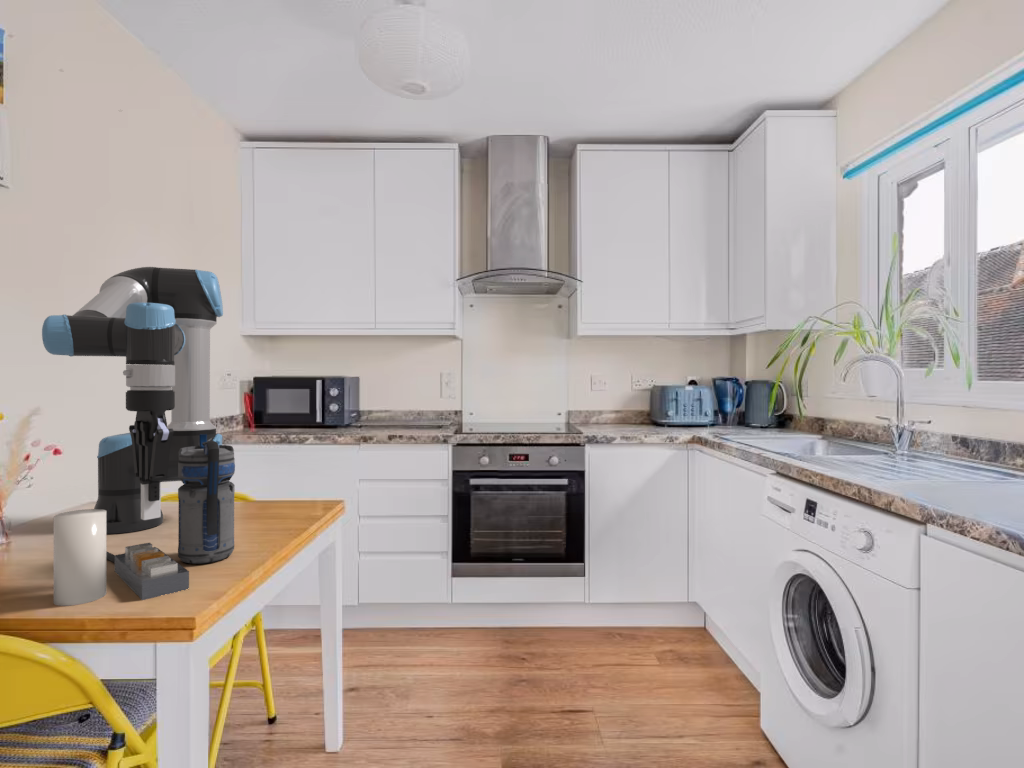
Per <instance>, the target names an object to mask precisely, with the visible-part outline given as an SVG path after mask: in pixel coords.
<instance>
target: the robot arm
mask: <svg viewBox="0 0 1024 768" xmlns="http://www.w3.org/2000/svg"><path fill="white" fill-rule="evenodd" d="M223 308H224V307H223V299H222V293H221V288H220V284H219V279H218V276H217V275H216V274H215V273H214V272H212V271H208V270H207V271H206V270H200V269H192V268H191V269H189V268H175V267H174V268H171V267H170V268H169V267H157V266H141V267H135V268H131V269H128V270H125V271H122V272H119V273H116V274H114V275H112V276H111V277H109V278H107V280H105V281H104V282H103V283H102V285H101V286H100V287H99V292H98V293H97V295H95V296H94V297H93V298H92V299H90V300H89V301H87V303H86V304H84V305H83V306H82V307H81V308H79V310H77V311H76V312H75V313H73V314H72V315H69V314H68V315H67V314H59V315H55V314H53V315H48V316H47V317H46V318H45V319H44V321H43V322H42V323H43V324H42V328H41V338H42V344H43V347H44V348H45V350H46V352H47V353H49V354H50V355H54V356H55V355H56V356H69V357H122V358H123V357H125V369H124V370H123V371H122V375H123V376H125V386H126V387H128V388H129V389H127V390H126V391H125V409H126V411H128V412H136V415H135V421H134V424H132V425H130V424H129V427H128V431H129V432H125V433H119V434H114V435H109V436H105V437H103V438H101V440H100V441H99V443H98V452H97V455H96V456H97V500H96V503H95V506H94V508H93V509H103V510H106V535H108V534H109V535H110V534H124V533H133V532H138V531H143V530H149V529H152V528H155V527H158V526H161V525H162V524H163V523H164V514H163V510H162V507H161V506H162V505H161V504H162V498H161V496H162V494H161V491H162V487H161V486H162V485H161V484H162V483H169V482H182V481H181V480H180V479H179V477H178V461H179V450H180V449H181V448H184V447H191V446H199V434H207V441H215V442H217V443H218V445H223V435H222V434H220V433H217V427H216V425H214V424H213V423H212V422H211V420H210V417H211V416H210V415H211V414H210V409H211V407H210V406H211V403H210V402H211V401H210V400H211V399H210V397H211V396H210V394H211V393H210V392H211V391H210V390H211V389H210V387H211V386H210V385H211V382H210V381H211V375H210V374H211V371H210V370H211V329H212V328H213V327H215V326H216V325H217V319H218V318H220V317H223V315H224V310H223ZM166 411H171V419H170V420H171V421H170V423H169V424H168V422H167V417H166Z"/></svg>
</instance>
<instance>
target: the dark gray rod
mask: <svg viewBox="0 0 1024 768" xmlns="http://www.w3.org/2000/svg"><path fill="white" fill-rule="evenodd" d="M115 555H116V554H113V553H111V552H109V551H108V550H106V560H108V561H110V562H112V563H114V564H115Z"/></svg>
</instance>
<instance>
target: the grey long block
mask: <svg viewBox="0 0 1024 768" xmlns="http://www.w3.org/2000/svg"><path fill="white" fill-rule="evenodd" d="M124 548H125V549H124V553H119V554H114V555H115V563H114V572H115V574H116V573H117V574H118V575H119V576H120V577H119V576H118V575H117V576H118V577H119V579H121V580H122V581H123V582H124V583H125V584H126V586H128V587H129V589H131V591H132V592H133V593H135V595H136V596H137V595H138V596H139V597H138V596H137V597H138V598H139V599H140V600H141V601H146V600H149V599H153V598H158V597H162V596H161V595H163V596H166V595H165V594H167V595H171V594H175V593H178V591H180V592H182V591H181V590H184V591H187V590H186V589H188V588H189V589H190V571H189V569H187V568H185V567H184V566H183V565H181V564H180V563H179V562H177V561H176V560H174V559H173V557H171V556H169V555H168V554H167V553H165V552H163V550H161V549H160V548H158V547H156V546H153V544H152V543H151V542H145V543H139V544H134V545H129V546H125V547H124ZM189 589H188V590H189ZM174 592H175V593H174ZM170 593H171V594H170Z"/></svg>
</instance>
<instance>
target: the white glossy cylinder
mask: <svg viewBox="0 0 1024 768" xmlns="http://www.w3.org/2000/svg"><path fill="white" fill-rule="evenodd" d="M106 551H107V534H106V510H103V509H94V508H87V509H78V510H77V509H76V510H71V511H70V510H69V511H66V512H61V513H57V514H55V515H54V516H53V604H54V605H55V606H59V607H66V606H67V607H69V606H78V605H83V604H88V603H91V602H95V601H97V600H100V599H102V598H104V597H105V596H106V595H107V559H106Z"/></svg>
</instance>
